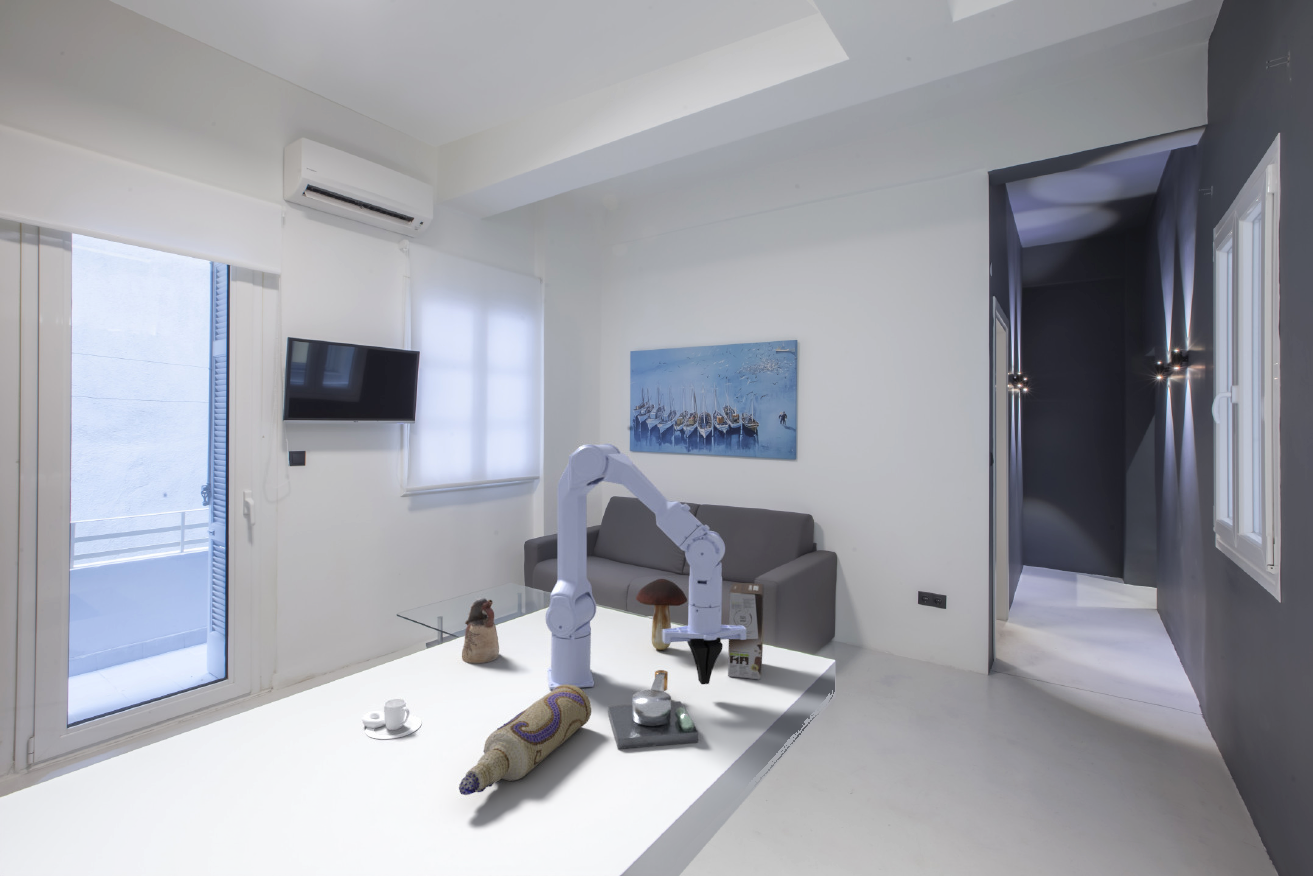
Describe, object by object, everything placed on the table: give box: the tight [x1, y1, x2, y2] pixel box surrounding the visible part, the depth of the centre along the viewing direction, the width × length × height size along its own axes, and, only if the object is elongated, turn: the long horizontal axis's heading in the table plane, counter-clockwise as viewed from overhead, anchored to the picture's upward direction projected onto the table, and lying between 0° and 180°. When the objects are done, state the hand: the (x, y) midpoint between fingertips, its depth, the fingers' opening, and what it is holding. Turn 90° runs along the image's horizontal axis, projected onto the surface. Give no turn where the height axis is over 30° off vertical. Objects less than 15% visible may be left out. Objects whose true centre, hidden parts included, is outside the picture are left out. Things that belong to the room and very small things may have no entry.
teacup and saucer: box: [361, 698, 423, 740], centre depth 96 cm, size 9×8×4 cm
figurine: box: [461, 597, 500, 664], centre depth 127 cm, size 7×7×12 cm
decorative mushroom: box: [635, 578, 688, 651], centre depth 133 cm, size 11×11×15 cm
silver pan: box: [631, 669, 672, 726], centre depth 102 cm, size 15×6×3 cm, turn 172°
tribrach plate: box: [607, 700, 699, 750], centre depth 97 cm, size 11×12×4 cm
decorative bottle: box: [458, 684, 592, 796], centre depth 86 cm, size 26×8×7 cm, turn 157°
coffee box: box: [727, 582, 764, 680], centre depth 122 cm, size 9×6×16 cm
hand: (703, 682), depth 108 cm, fingers closed
